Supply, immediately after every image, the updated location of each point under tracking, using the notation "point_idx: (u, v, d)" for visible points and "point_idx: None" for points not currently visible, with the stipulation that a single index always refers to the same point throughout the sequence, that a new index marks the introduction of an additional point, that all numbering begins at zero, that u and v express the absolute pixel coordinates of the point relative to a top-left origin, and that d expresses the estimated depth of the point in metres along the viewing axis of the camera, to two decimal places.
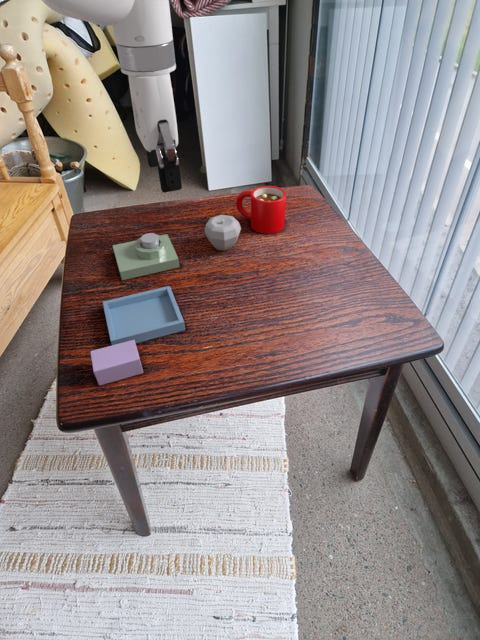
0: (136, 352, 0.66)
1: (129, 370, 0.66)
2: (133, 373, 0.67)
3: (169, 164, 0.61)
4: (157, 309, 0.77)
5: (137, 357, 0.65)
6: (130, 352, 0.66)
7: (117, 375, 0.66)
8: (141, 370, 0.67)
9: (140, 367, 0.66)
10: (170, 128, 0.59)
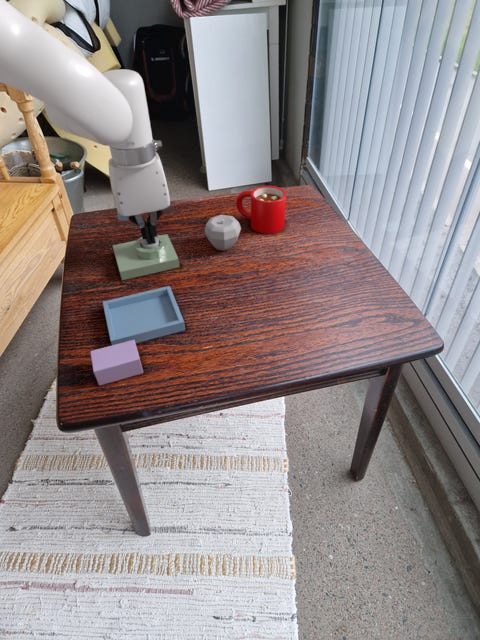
0: (136, 352, 0.66)
1: (129, 370, 0.66)
2: (133, 373, 0.67)
3: None
4: (157, 309, 0.77)
5: (137, 357, 0.65)
6: (130, 352, 0.66)
7: (117, 375, 0.66)
8: (141, 370, 0.67)
9: (140, 367, 0.66)
10: (115, 200, 0.77)
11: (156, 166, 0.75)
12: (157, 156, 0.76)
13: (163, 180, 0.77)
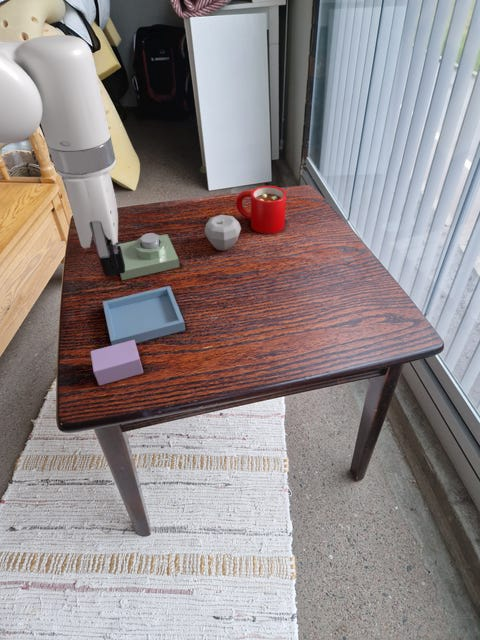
0: (136, 352, 0.66)
1: (129, 370, 0.66)
2: (133, 373, 0.67)
3: None
4: (157, 309, 0.77)
5: (137, 357, 0.65)
6: (130, 352, 0.66)
7: (117, 375, 0.66)
8: (141, 370, 0.67)
9: (140, 367, 0.66)
10: (104, 228, 0.55)
11: None
12: None
13: None
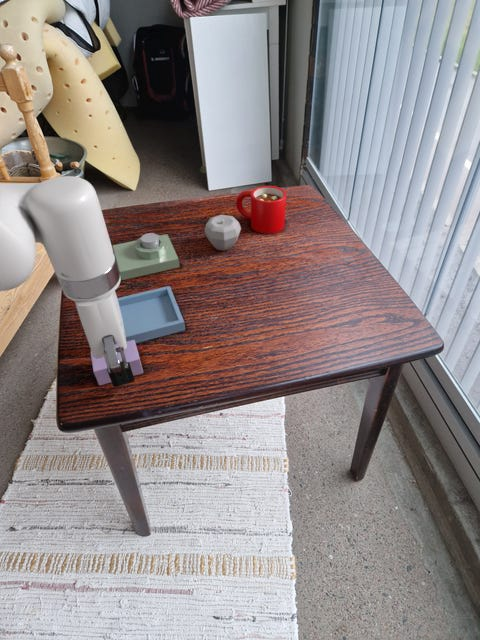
0: (136, 352, 0.66)
1: None
2: (133, 373, 0.67)
3: None
4: (157, 309, 0.77)
5: (137, 357, 0.65)
6: (130, 352, 0.66)
7: None
8: (141, 370, 0.67)
9: (140, 367, 0.66)
10: (116, 340, 0.57)
11: None
12: None
13: None
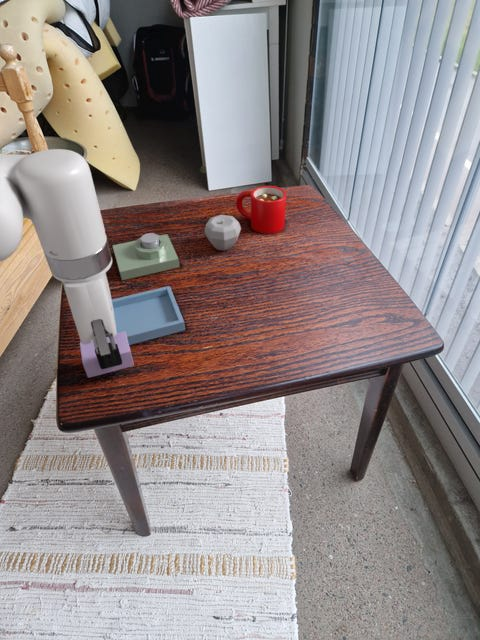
0: (127, 344, 0.64)
1: None
2: (123, 366, 0.65)
3: None
4: (157, 309, 0.77)
5: (128, 349, 0.63)
6: (121, 344, 0.64)
7: None
8: (132, 363, 0.65)
9: (131, 359, 0.64)
10: (105, 325, 0.55)
11: None
12: None
13: None
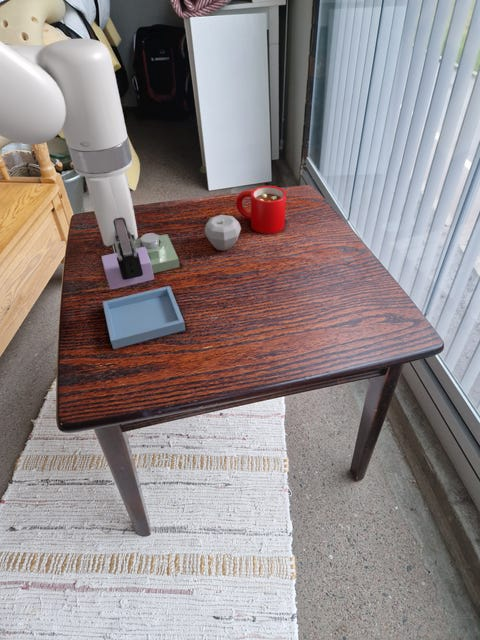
0: (147, 257, 0.66)
1: None
2: (144, 279, 0.67)
3: (127, 257, 0.61)
4: (157, 309, 0.77)
5: (148, 261, 0.65)
6: (141, 257, 0.66)
7: (128, 279, 0.66)
8: (152, 276, 0.67)
9: (151, 272, 0.67)
10: (127, 225, 0.57)
11: None
12: None
13: None
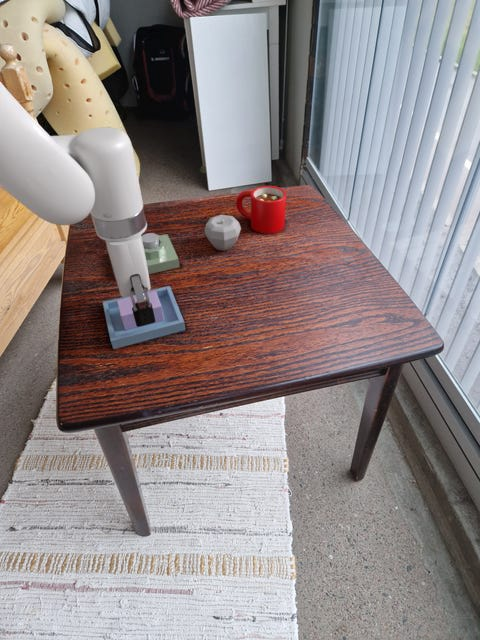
0: (158, 301, 0.74)
1: None
2: (155, 320, 0.74)
3: (142, 309, 0.66)
4: None
5: (159, 304, 0.73)
6: (153, 301, 0.74)
7: None
8: (162, 317, 0.75)
9: (161, 314, 0.74)
10: (142, 279, 0.64)
11: None
12: None
13: None
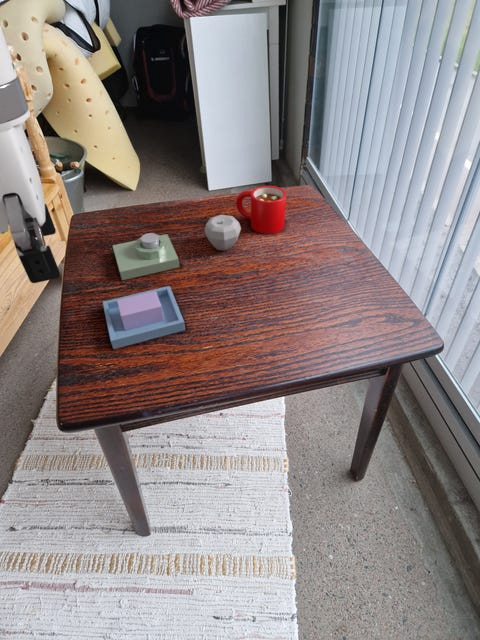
0: (158, 301, 0.74)
1: (152, 317, 0.74)
2: (155, 320, 0.74)
3: (29, 252, 0.43)
4: None
5: (159, 304, 0.73)
6: (153, 301, 0.74)
7: (141, 321, 0.73)
8: (162, 317, 0.75)
9: (161, 314, 0.74)
10: (25, 203, 0.41)
11: None
12: None
13: None
